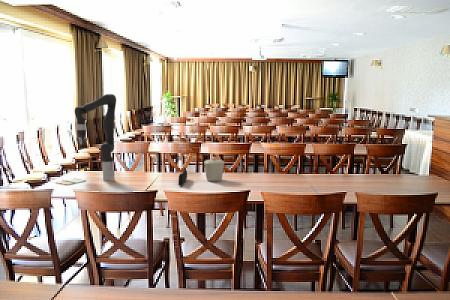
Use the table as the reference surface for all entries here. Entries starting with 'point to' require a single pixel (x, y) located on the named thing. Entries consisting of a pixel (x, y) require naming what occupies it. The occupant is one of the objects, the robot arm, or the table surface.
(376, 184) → the table surface
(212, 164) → the canister
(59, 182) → the ash board
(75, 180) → the sage plank
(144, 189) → the table surface
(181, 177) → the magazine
